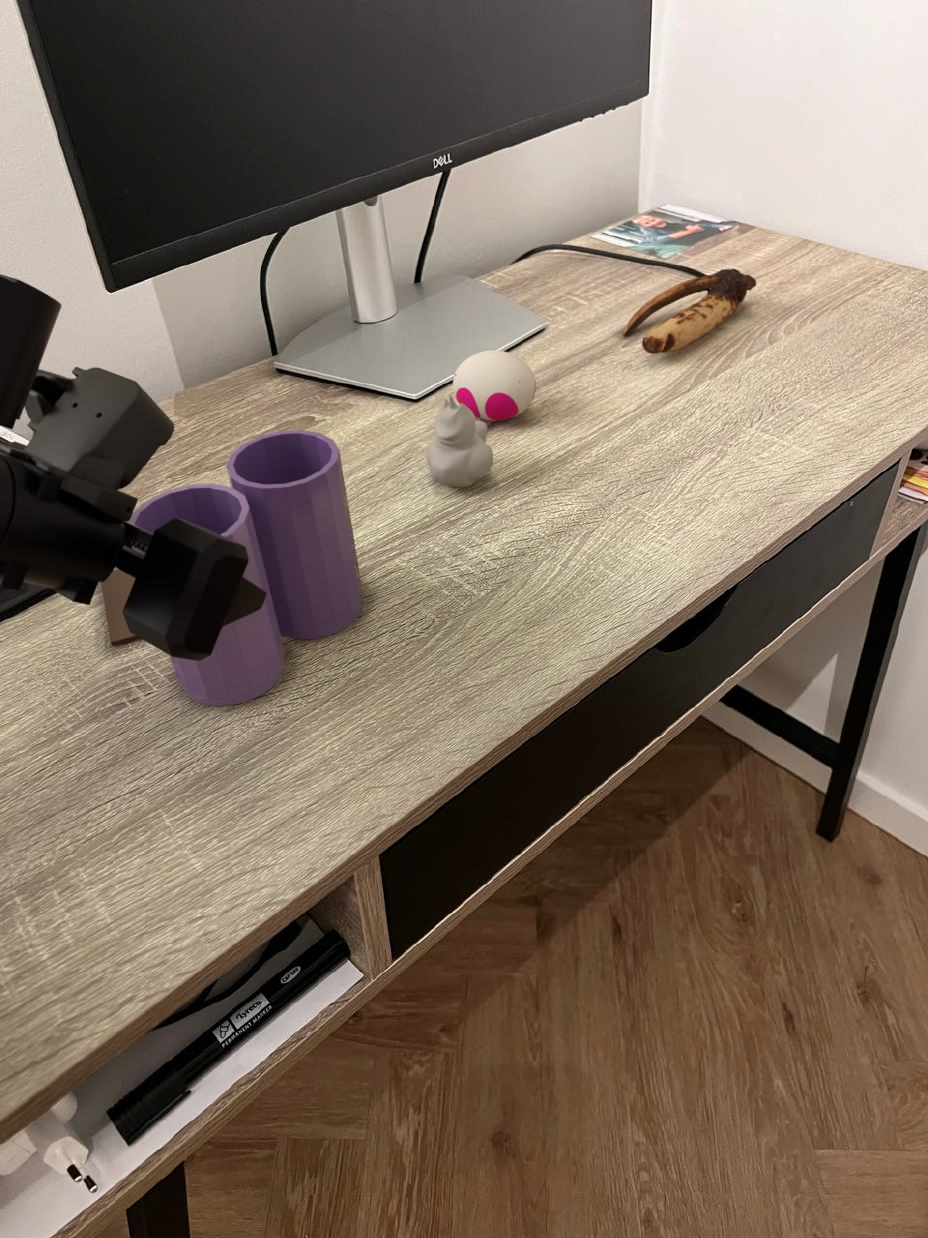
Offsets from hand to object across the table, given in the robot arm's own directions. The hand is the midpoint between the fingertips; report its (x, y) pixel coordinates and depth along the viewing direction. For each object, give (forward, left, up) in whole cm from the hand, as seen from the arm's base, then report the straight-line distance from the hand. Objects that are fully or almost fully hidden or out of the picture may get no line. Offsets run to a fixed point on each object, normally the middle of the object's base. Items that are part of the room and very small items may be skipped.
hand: (210, 574), depth 59 cm
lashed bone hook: (+52, +31, -8) cm, 61 cm away
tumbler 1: (0, 0, -8) cm, 8 cm away
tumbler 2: (+6, +4, -8) cm, 11 cm away
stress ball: (+28, +23, -8) cm, 37 cm away
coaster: (-3, +10, -8) cm, 13 cm away
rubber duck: (+22, +15, -8) cm, 27 cm away
